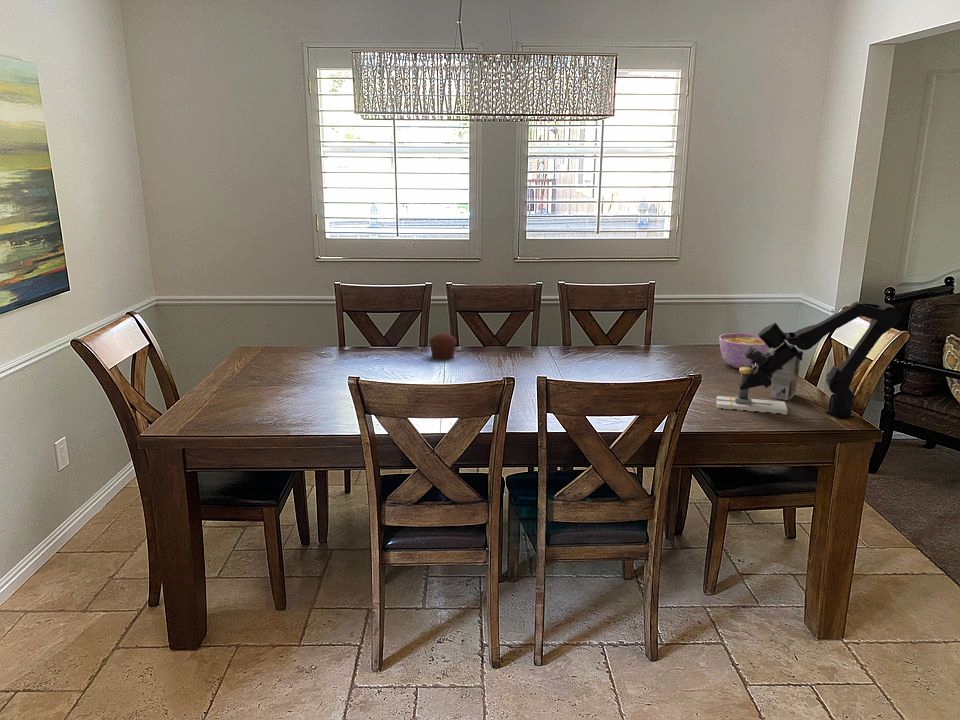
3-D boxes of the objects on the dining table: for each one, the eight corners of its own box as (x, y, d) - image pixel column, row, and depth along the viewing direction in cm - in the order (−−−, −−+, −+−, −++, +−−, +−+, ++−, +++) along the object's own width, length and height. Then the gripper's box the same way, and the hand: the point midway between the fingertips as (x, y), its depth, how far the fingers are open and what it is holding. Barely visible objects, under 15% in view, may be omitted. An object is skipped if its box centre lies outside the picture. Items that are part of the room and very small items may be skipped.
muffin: (424, 358, 304) (424, 335, 301) (435, 352, 314) (435, 329, 311) (451, 361, 300) (450, 337, 297) (461, 355, 310) (461, 332, 307)
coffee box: (777, 391, 264) (783, 348, 260) (796, 394, 260) (802, 351, 256) (769, 397, 258) (774, 353, 253) (788, 401, 254) (793, 356, 249)
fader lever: (750, 399, 249) (753, 367, 246) (751, 403, 245) (754, 371, 242) (734, 398, 250) (738, 366, 247) (735, 402, 246) (738, 370, 243)
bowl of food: (708, 360, 304) (711, 333, 301) (755, 359, 306) (758, 332, 303) (728, 373, 285) (730, 345, 282) (777, 373, 287) (781, 344, 284)
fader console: (784, 405, 249) (784, 401, 248) (787, 414, 240) (787, 409, 240) (714, 399, 254) (715, 395, 254) (715, 408, 246) (715, 403, 246)
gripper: (759, 334, 249) (722, 362, 255) (764, 347, 232) (724, 377, 238) (781, 358, 249) (744, 386, 255) (788, 372, 232) (747, 402, 238)
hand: (739, 387), depth 247 cm, fingers closed on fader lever, 3 cm apart
